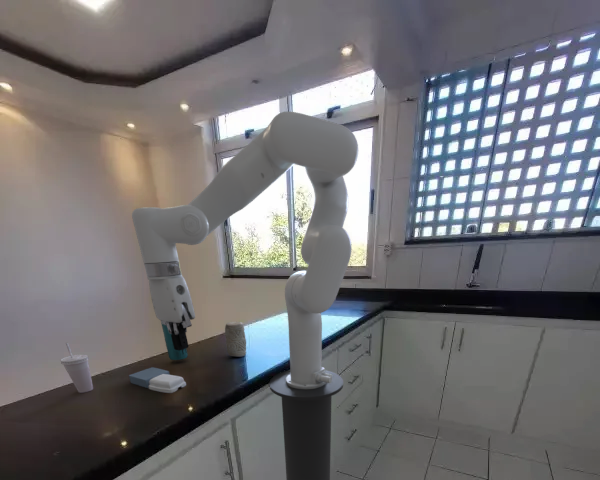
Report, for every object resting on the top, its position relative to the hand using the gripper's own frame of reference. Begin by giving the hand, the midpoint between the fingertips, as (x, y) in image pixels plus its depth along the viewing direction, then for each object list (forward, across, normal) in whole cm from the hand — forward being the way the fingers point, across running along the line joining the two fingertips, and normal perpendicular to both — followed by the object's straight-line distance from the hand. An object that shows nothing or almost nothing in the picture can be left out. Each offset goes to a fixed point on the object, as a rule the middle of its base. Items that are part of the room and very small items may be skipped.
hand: (181, 348), depth 79 cm
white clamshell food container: (+13, +10, +1) cm, 16 cm away
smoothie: (+12, +28, +15) cm, 34 cm away
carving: (+13, +12, -30) cm, 35 cm away
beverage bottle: (+13, +26, -15) cm, 33 cm away
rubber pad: (+12, +18, +1) cm, 22 cm away
